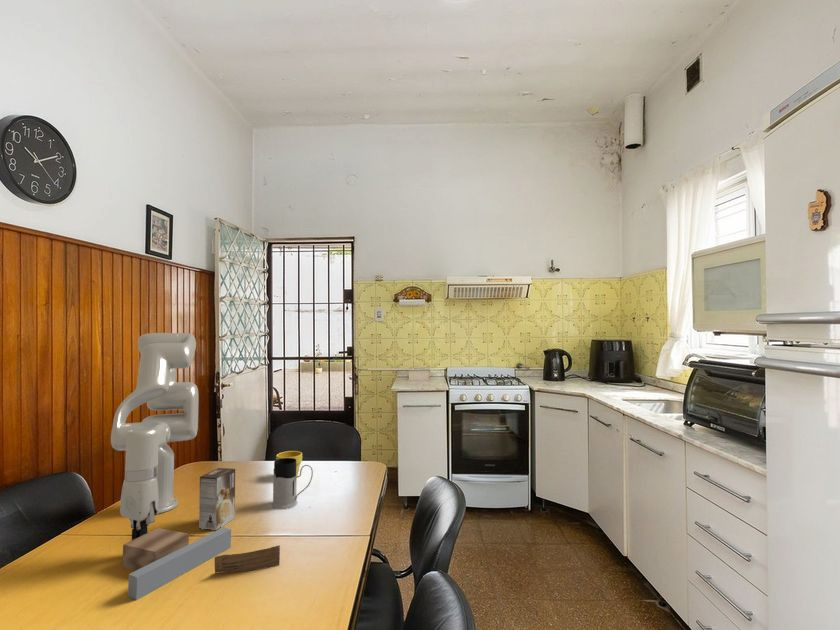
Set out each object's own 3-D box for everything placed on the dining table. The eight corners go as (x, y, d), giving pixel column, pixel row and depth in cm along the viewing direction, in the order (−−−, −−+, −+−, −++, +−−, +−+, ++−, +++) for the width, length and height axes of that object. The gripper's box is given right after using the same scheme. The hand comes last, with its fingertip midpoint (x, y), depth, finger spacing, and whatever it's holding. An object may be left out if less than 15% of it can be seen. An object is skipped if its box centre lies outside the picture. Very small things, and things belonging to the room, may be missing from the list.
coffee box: (217, 516, 139) (219, 467, 140) (235, 518, 138) (236, 468, 139) (197, 529, 130) (199, 476, 131) (216, 531, 129) (217, 477, 130)
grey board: (128, 596, 97) (128, 574, 97) (223, 545, 121) (223, 527, 121) (136, 600, 96) (137, 577, 96) (230, 547, 119) (231, 529, 120)
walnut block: (122, 568, 109) (123, 544, 109) (157, 549, 118) (158, 527, 119) (154, 576, 106) (155, 551, 106) (188, 556, 115) (188, 533, 115)
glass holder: (276, 499, 154) (277, 457, 155) (315, 499, 154) (316, 457, 154) (267, 509, 146) (268, 464, 146) (308, 509, 145) (309, 465, 146)
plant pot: (278, 474, 182) (279, 450, 182) (303, 473, 183) (304, 450, 183) (273, 482, 171) (273, 457, 172) (299, 481, 172) (300, 457, 173)
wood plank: (279, 562, 112) (279, 543, 112) (279, 566, 110) (279, 547, 110) (214, 573, 107) (215, 553, 107) (213, 578, 105) (214, 557, 105)
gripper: (110, 474, 116) (107, 542, 115) (145, 482, 110) (142, 554, 109) (138, 466, 123) (136, 531, 122) (172, 473, 117) (170, 541, 116)
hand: (139, 542), depth 116 cm, fingers closed
